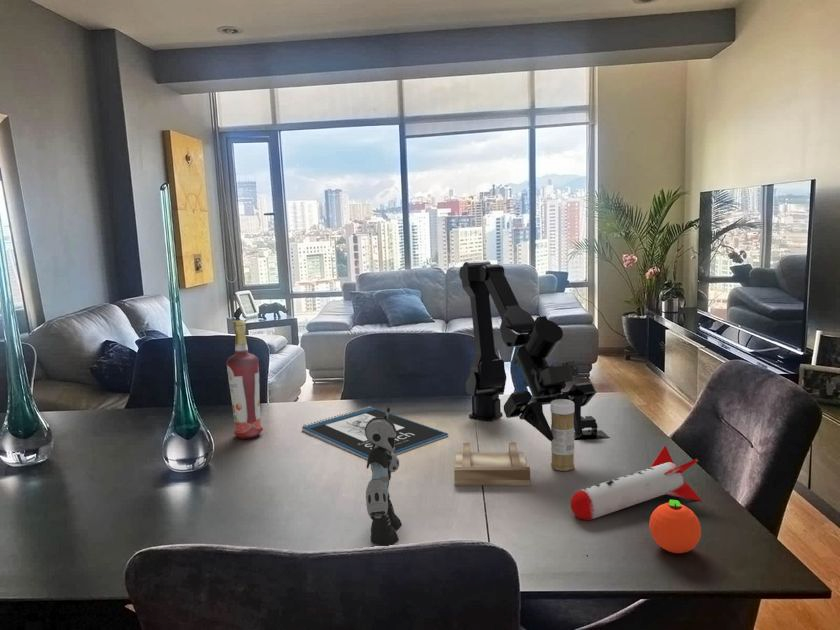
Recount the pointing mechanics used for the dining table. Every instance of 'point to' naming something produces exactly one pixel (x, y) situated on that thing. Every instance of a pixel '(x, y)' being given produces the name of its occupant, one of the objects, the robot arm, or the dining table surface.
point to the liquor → (244, 386)
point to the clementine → (675, 527)
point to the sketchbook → (351, 432)
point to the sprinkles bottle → (562, 434)
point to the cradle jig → (491, 467)
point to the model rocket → (634, 488)
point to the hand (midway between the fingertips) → (566, 437)
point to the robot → (381, 480)
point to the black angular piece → (590, 434)
